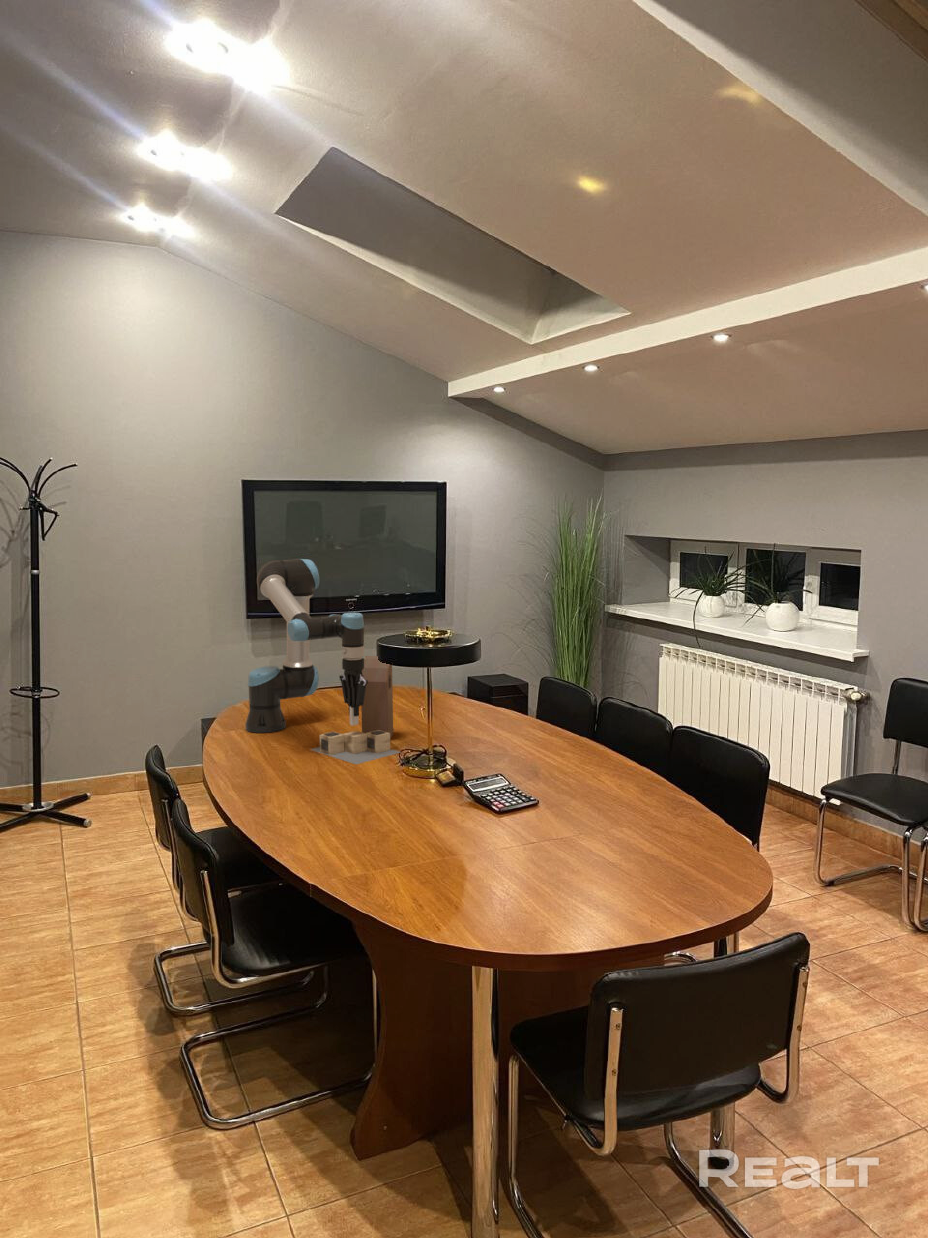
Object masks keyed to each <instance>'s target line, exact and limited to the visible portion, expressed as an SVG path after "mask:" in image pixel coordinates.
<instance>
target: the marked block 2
mask: <svg viewBox="0 0 928 1238" xmlns="http://www.w3.org/2000/svg"><path fill="white" fill-rule="evenodd" d="M366 734H367V750H368V751H371V752H374V753H380V752H384V751H388V750H390V749H391V738H390V733H388V732H384V731H380V730H377V731H373V732H369V733H366Z"/></svg>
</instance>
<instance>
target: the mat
mask: <svg viewBox="0 0 928 1238" xmlns="http://www.w3.org/2000/svg"><path fill="white" fill-rule="evenodd" d="M309 750H310V751H313V752H316V753H319V754H323V755H326V756H328V757H331V758H332V757H333V758H335V759H337V760H341V761H343V762H344V761H345V762H347V763H350V764H353V765H359V764H363V763H366V762H367V763H368V762H370V761H375V760H378V759H381V758H385V757H388V756H392V755H396V754H399V753H402V751H398V750H395V749H392V748H390V750H388V751H384V752H380V753H374V752H371V751H368V750H367V751H364V752H360V753H356V754H352V753H349V752H345V751H344V752H340V753H336V754H333V755H329V754H326V753H323V752H320V746H318V747H317V746H316V747H314V748H310V749H309Z"/></svg>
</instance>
